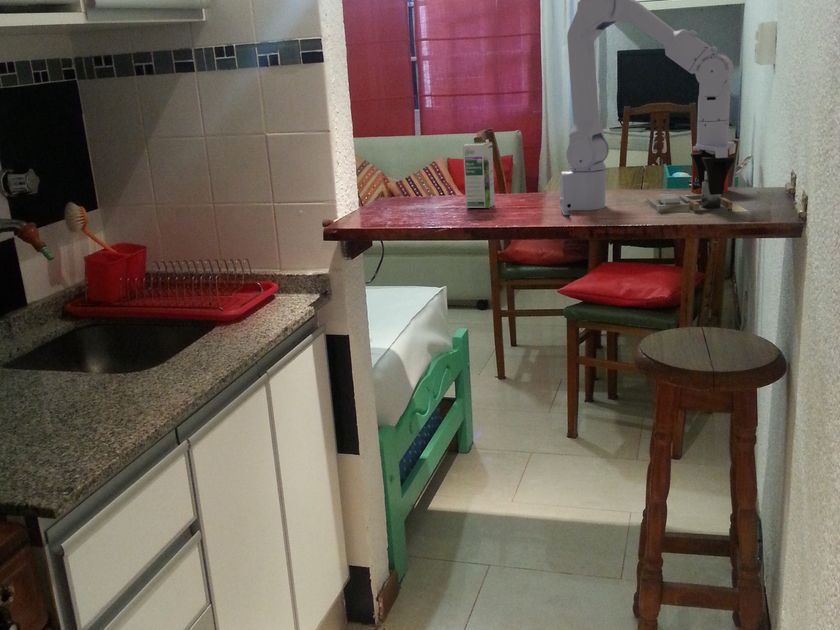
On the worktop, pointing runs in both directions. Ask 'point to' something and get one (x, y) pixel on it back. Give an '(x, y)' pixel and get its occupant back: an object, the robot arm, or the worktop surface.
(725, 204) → the socket board
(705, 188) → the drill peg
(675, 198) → the gray rectangular block
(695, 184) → the canned food
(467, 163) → the syrup box
